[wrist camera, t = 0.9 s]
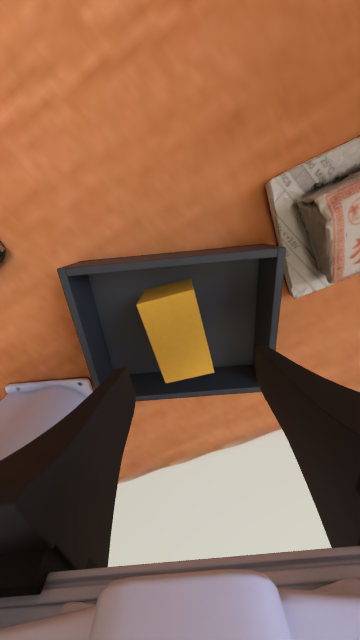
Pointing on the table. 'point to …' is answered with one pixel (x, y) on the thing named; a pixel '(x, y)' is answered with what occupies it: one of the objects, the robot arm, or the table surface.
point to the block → (175, 330)
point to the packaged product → (319, 218)
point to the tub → (214, 306)
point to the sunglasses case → (2, 251)
